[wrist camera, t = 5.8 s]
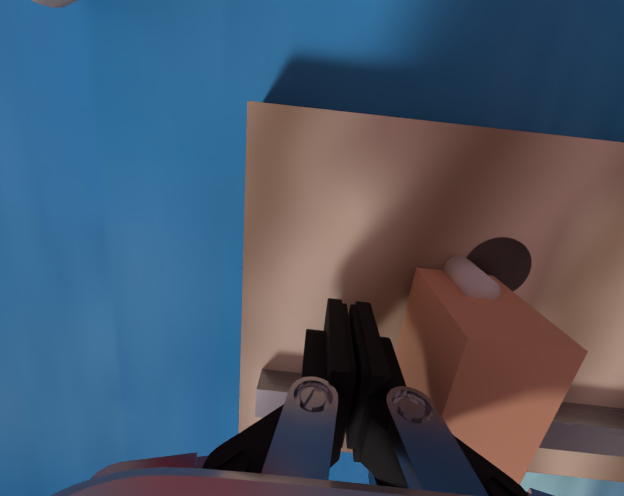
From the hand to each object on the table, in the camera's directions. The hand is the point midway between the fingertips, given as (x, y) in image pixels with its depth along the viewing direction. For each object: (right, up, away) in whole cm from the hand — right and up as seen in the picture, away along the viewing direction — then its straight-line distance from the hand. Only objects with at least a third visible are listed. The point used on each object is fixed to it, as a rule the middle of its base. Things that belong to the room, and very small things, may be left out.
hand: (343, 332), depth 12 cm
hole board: (+10, 0, +3) cm, 10 cm away
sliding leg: (+4, -1, +1) cm, 4 cm away
